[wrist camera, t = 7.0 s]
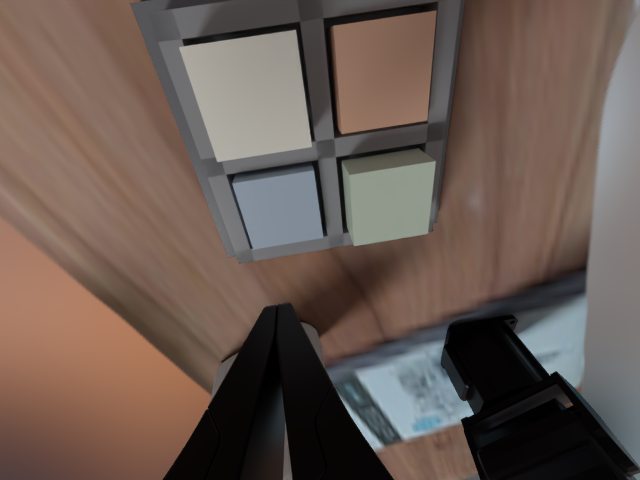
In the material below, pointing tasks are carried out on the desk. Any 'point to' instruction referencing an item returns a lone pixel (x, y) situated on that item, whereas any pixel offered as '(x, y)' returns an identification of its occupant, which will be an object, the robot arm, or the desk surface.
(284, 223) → the slate-blue key
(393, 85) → the terracotta key
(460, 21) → the keypad board
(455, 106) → the desk surface
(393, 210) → the sage key
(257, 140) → the cream key
